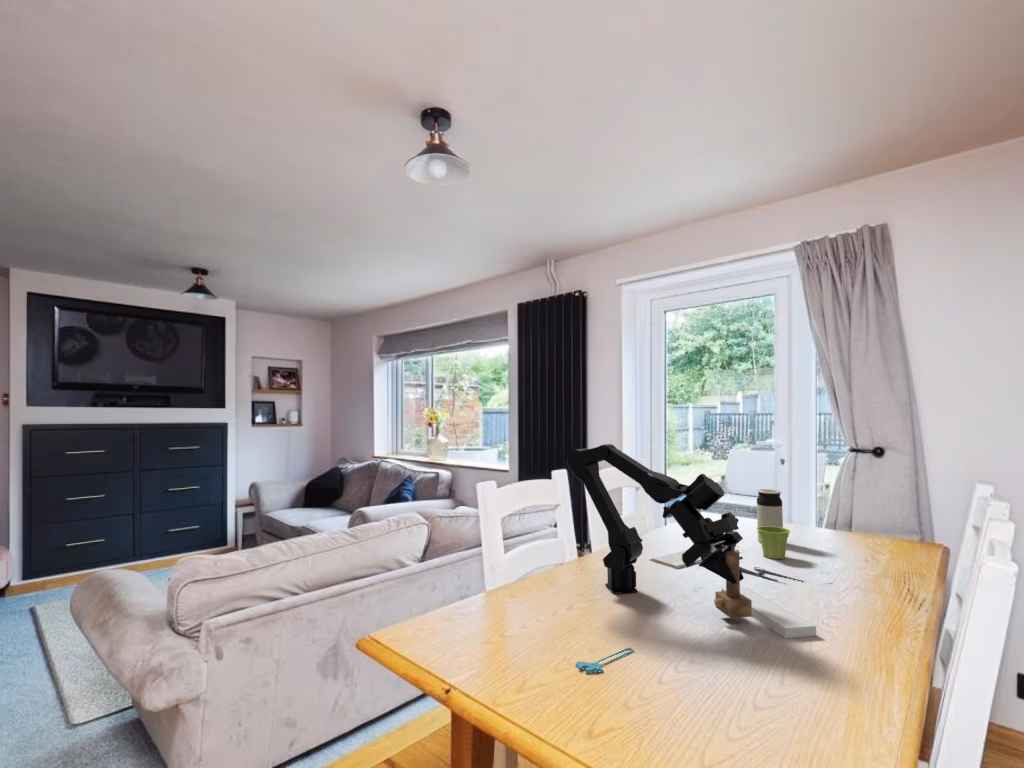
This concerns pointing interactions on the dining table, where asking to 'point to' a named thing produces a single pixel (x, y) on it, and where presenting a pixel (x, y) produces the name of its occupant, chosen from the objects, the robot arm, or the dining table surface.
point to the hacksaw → (749, 572)
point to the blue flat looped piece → (595, 665)
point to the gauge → (733, 592)
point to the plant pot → (773, 541)
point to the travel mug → (769, 509)
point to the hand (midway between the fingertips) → (738, 581)
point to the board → (777, 616)
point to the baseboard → (675, 559)
